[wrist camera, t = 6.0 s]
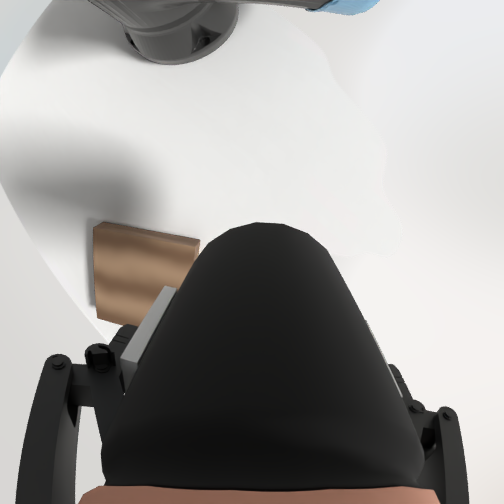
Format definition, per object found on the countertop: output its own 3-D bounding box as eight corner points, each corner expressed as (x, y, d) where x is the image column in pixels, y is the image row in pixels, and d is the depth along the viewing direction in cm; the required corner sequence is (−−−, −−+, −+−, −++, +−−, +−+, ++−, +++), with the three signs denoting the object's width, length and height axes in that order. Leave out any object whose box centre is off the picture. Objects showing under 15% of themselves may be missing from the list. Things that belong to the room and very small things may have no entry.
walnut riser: (103, 221, 40) (93, 227, 37) (200, 239, 40) (195, 247, 37) (105, 308, 45) (97, 318, 42) (190, 329, 45) (186, 341, 42)
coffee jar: (184, 333, 23) (110, 549, 6) (202, 202, 19) (1, 445, 2) (312, 356, 23) (345, 570, 7) (356, 236, 20) (525, 469, 3)
